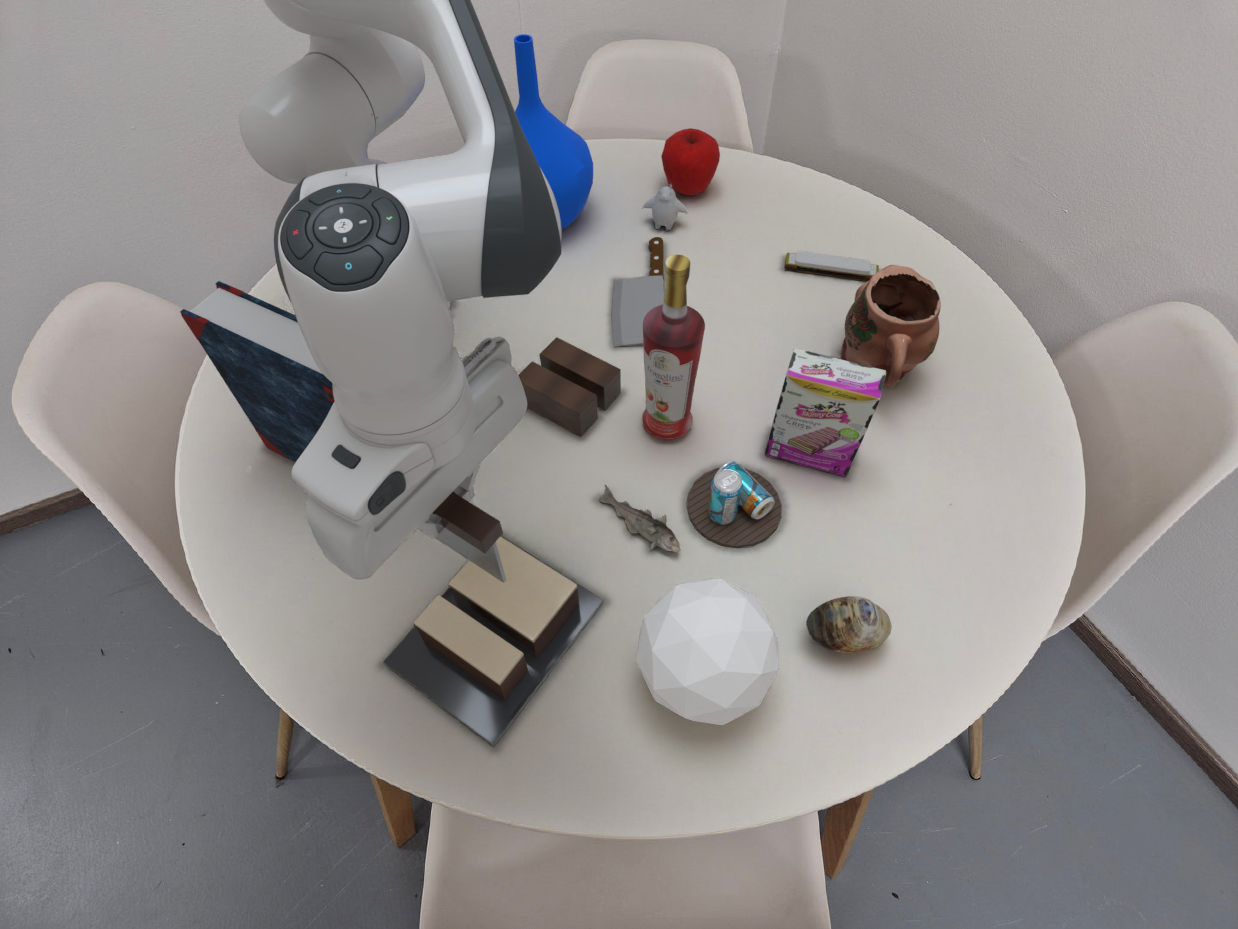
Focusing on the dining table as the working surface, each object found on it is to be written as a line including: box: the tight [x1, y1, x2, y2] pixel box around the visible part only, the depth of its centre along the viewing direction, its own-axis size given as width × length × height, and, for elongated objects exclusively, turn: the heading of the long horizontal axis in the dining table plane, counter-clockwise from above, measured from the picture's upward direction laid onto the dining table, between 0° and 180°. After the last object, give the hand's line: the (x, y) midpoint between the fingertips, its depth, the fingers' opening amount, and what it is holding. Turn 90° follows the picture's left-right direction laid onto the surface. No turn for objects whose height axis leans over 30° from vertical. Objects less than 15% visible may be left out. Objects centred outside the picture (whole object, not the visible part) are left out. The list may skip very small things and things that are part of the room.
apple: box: [661, 127, 721, 196], centre depth 131 cm, size 10×10×11 cm
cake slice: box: [413, 594, 528, 699], centre depth 83 cm, size 12×4×5 cm, turn 56°
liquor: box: [641, 254, 706, 440], centre depth 94 cm, size 7×7×28 cm
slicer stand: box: [518, 337, 622, 438], centre depth 106 cm, size 11×10×5 cm
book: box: [179, 280, 335, 463], centre depth 91 cm, size 25×7×25 cm, turn 61°
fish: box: [598, 484, 682, 553], centre depth 95 cm, size 13×4×5 cm
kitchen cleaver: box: [611, 236, 665, 348], centre depth 120 cm, size 24×1×10 cm
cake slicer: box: [433, 492, 506, 583], centre depth 68 cm, size 10×2×9 cm, turn 56°
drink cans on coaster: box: [686, 459, 782, 549], centre depth 94 cm, size 12×12×8 cm
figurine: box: [641, 182, 689, 232], centre depth 127 cm, size 8×6×8 cm
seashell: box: [805, 595, 893, 654], centre depth 84 cm, size 10×6×8 cm, turn 91°
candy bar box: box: [764, 347, 886, 478], centre depth 95 cm, size 11×5×16 cm, turn 71°
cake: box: [382, 535, 604, 747], centre depth 85 cm, size 16×20×6 cm
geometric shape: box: [635, 577, 781, 726], centre depth 79 cm, size 14×15×15 cm
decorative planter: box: [841, 264, 942, 388], centre depth 105 cm, size 20×12×14 cm, turn 176°
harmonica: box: [784, 250, 880, 282], centre depth 122 cm, size 15×3×2 cm, turn 77°
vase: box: [513, 33, 594, 231], centre depth 119 cm, size 18×18×30 cm
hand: (448, 514), depth 65 cm, fingers closed on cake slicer, 2 cm apart
